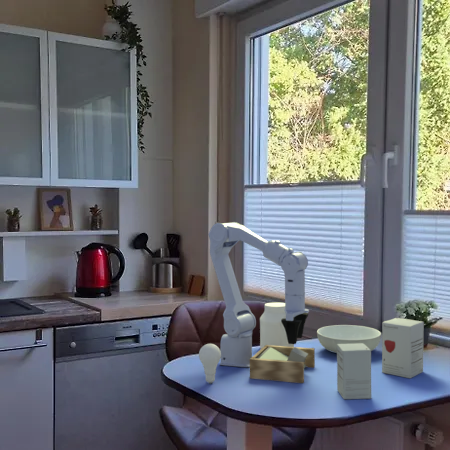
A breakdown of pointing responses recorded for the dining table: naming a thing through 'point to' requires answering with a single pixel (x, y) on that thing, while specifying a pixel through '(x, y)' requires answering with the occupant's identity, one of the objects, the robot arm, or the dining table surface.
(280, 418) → the dining table surface
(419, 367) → the supplement box
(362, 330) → the serving bowl
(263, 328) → the jar
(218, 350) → the lightbulb
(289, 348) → the hatch frame
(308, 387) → the dining table surface
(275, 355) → the hatch
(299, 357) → the gray block
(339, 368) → the supplement box
